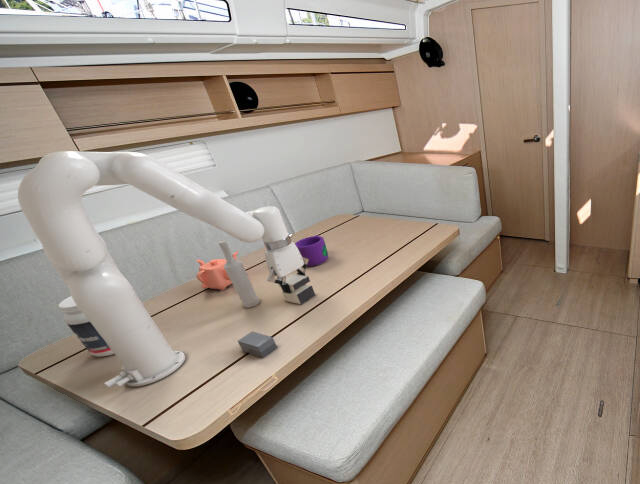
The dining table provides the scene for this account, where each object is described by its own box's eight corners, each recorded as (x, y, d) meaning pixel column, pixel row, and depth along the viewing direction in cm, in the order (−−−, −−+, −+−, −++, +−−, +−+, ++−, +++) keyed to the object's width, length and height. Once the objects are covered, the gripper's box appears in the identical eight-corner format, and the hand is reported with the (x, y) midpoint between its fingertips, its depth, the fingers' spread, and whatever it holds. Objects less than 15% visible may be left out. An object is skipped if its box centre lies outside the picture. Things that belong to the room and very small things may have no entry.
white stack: (301, 304, 124) (297, 295, 122) (285, 300, 127) (281, 291, 125) (315, 295, 129) (312, 285, 127) (299, 291, 132) (296, 282, 130)
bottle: (251, 308, 124) (220, 245, 113) (239, 307, 125) (208, 245, 114) (263, 300, 128) (235, 238, 117) (252, 299, 129) (222, 238, 118)
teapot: (207, 281, 144) (195, 258, 140) (248, 271, 150) (237, 249, 145) (197, 298, 133) (183, 273, 128) (242, 287, 138) (230, 263, 133)
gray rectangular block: (263, 357, 101) (258, 347, 99) (242, 351, 104) (237, 340, 102) (277, 347, 104) (272, 337, 102) (257, 341, 107) (251, 331, 106)
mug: (325, 266, 149) (318, 245, 145) (297, 269, 148) (289, 248, 144) (337, 248, 165) (330, 228, 160) (311, 251, 164) (304, 232, 159)
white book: (295, 290, 121) (293, 285, 120) (279, 286, 124) (277, 282, 123) (310, 281, 126) (308, 276, 125) (294, 278, 129) (292, 273, 128)
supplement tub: (81, 357, 106) (40, 308, 98) (128, 329, 118) (96, 283, 110) (113, 360, 104) (75, 310, 96) (159, 331, 115) (128, 284, 107)
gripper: (292, 231, 126) (308, 274, 134) (245, 253, 112) (266, 299, 120) (307, 233, 124) (323, 276, 132) (261, 255, 110) (282, 303, 118)
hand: (296, 287), depth 126 cm, fingers closed on white book, 6 cm apart
